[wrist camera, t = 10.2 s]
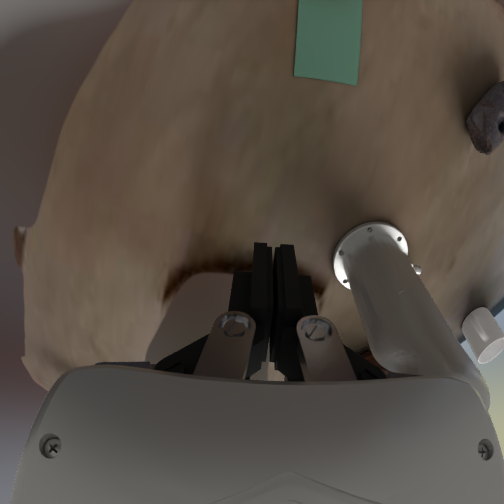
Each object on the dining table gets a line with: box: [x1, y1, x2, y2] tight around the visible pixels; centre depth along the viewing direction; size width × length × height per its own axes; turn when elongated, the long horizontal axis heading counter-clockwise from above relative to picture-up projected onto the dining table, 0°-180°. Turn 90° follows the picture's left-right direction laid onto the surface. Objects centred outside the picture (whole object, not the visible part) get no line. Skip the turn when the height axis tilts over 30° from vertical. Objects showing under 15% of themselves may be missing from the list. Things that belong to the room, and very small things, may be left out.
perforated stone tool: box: [466, 81, 504, 155], centre depth 26 cm, size 15×5×7 cm, turn 142°
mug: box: [462, 307, 504, 364], centre depth 47 cm, size 12×8×10 cm
